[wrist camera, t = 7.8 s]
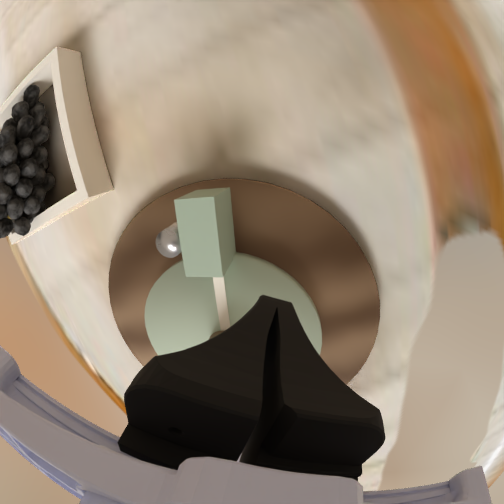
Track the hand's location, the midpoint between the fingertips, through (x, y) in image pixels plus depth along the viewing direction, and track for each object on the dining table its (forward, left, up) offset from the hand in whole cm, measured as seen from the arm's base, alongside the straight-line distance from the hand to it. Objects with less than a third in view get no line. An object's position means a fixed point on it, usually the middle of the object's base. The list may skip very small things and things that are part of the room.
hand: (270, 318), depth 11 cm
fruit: (+15, +21, -11) cm, 28 cm away
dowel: (+3, +6, -10) cm, 12 cm away
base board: (-6, +6, -10) cm, 14 cm away
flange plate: (-4, +6, -9) cm, 11 cm away
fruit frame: (+16, +20, -10) cm, 28 cm away
